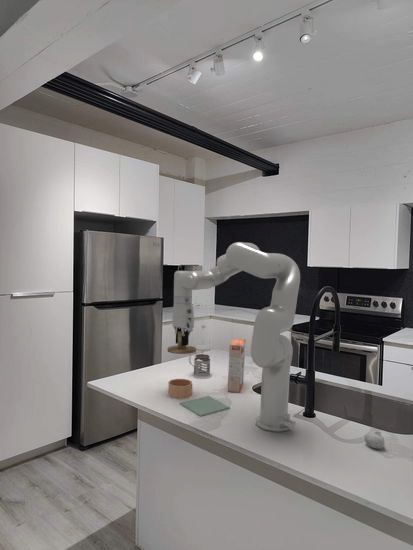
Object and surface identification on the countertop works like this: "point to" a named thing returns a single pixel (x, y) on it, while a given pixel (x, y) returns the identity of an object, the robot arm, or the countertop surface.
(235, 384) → the cracker box
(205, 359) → the french press
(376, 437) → the garlic
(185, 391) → the bowl
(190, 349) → the lid
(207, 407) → the mat
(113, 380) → the countertop surface
